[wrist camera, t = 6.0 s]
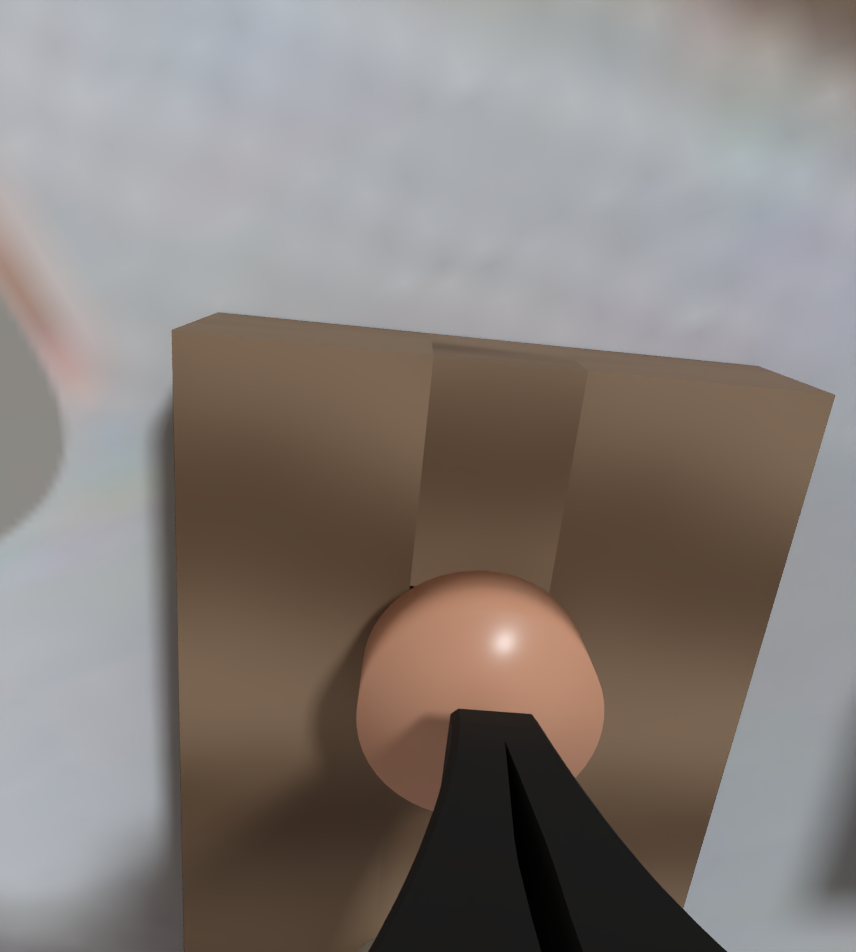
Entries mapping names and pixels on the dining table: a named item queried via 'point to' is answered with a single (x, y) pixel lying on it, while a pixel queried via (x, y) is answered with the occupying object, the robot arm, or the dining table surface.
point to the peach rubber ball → (471, 675)
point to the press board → (443, 552)
